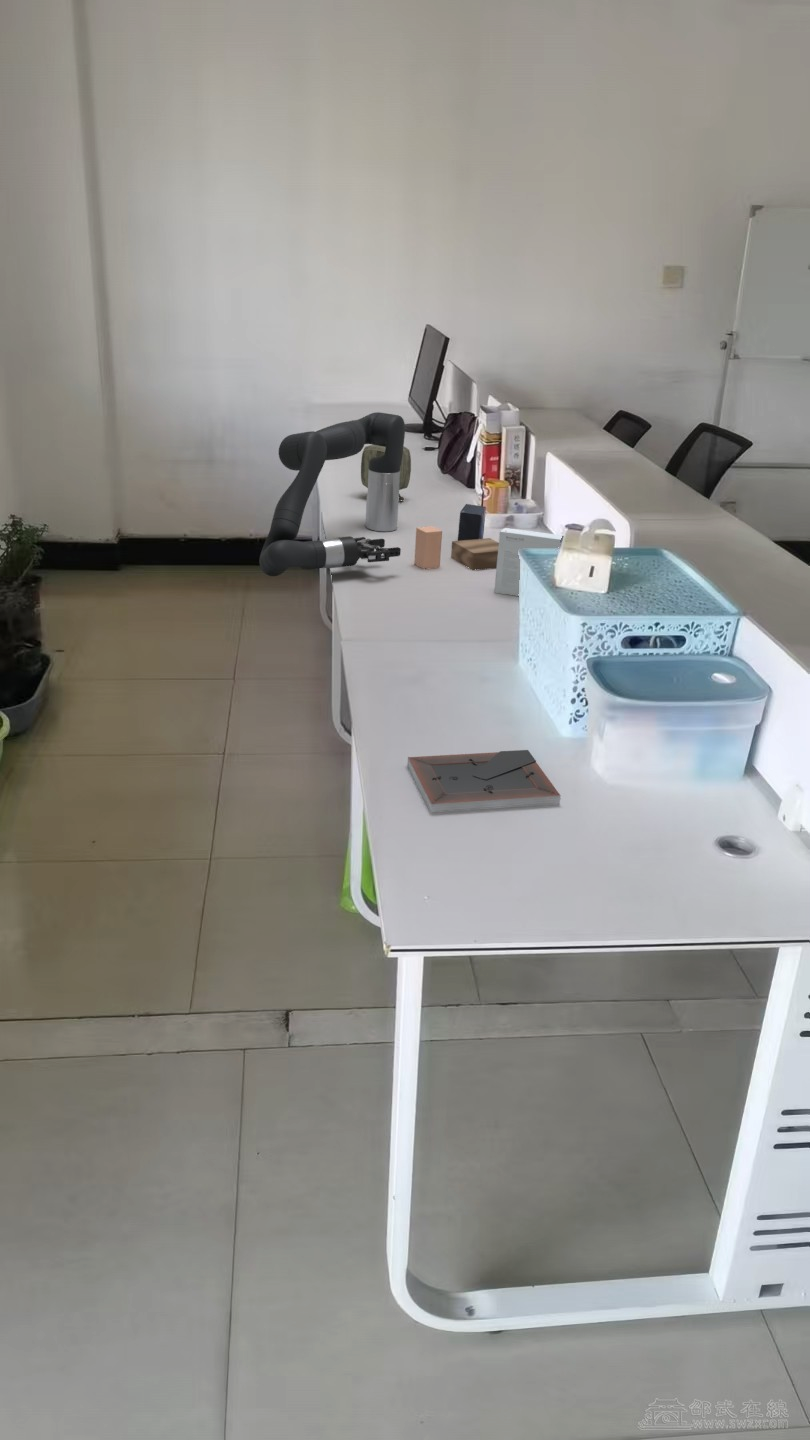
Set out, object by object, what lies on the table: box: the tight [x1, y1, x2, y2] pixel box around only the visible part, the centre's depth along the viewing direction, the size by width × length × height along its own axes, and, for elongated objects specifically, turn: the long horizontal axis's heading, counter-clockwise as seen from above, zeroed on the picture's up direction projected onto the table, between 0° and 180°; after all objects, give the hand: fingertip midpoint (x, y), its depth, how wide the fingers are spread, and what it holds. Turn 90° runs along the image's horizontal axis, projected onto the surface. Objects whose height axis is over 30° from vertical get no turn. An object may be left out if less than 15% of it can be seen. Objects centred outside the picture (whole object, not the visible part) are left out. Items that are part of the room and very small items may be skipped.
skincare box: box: [493, 527, 564, 597], centre depth 275 cm, size 21×5×16 cm, turn 71°
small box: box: [457, 503, 487, 541], centre depth 316 cm, size 11×6×10 cm, turn 168°
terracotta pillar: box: [413, 525, 443, 570], centre depth 294 cm, size 5×5×10 cm
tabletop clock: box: [360, 444, 412, 500], centre depth 355 cm, size 14×9×25 cm, turn 58°
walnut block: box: [450, 537, 499, 571], centre depth 302 cm, size 12×12×5 cm
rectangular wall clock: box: [406, 749, 561, 814], centre depth 184 cm, size 16×2×22 cm
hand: (391, 547), depth 289 cm, fingers open, 8 cm apart
